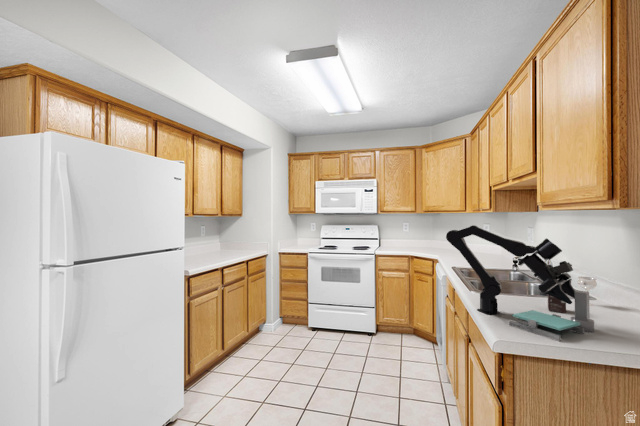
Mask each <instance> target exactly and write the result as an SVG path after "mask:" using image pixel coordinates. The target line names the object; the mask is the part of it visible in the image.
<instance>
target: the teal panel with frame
mask: <svg viewBox="0 0 640 426" xmlns="http://www.w3.org/2000/svg"><path fill="white" fill-rule="evenodd" d="M551 315H553V316H557V317H560V318H562V316H561V315H558V314H554V313H552V314H551ZM508 325H509V326H512V327H515V328H518V329H521V330H523V331H526V332H530V333H533V334H536V335H538V336H542V337H546V338H548V339H551V340H554V341H558V342H561V340H562V335H561V334H558V333H554V332H552V331H549V330H546V329H541V328H539V327H538V326H539V324H538V321H534V320H531V319H530V320H529V321H528V324H526V323H524V322H520V321H516V320H514V319H509V320H508ZM565 330H567V331H571V332H572V333H573V332H574V333H576V334H581V335H584V334H585V332H584V328H580V327H577V326H575V327H571V328H567V329H565Z"/></svg>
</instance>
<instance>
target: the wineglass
mask: <svg viewBox="0 0 640 426" xmlns="http://www.w3.org/2000/svg"><path fill="white" fill-rule="evenodd" d="M577 278H578V279H577V284H578V286H579V287H580V288H581V289H583V290H584V291H586V292H589V291H590V290H593V289H595V288H596V287H597V285H598V284H597V278H594V277H589V276H577ZM589 307H595V304H593V303H591V302H589Z"/></svg>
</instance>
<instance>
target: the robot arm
mask: <svg viewBox="0 0 640 426" xmlns="http://www.w3.org/2000/svg"><path fill="white" fill-rule="evenodd" d="M470 236H475V237H478V238H480V239H482V240H485V241H487V242H489V243H491V244H493V245H497V246H499V247H501V248H503V249H504V250H506V251H507V252H508V253H510V254H512V255H513V256H515V257H518V258H517V260H518V261H517V262H518V263H517V266H519V267H522V266H523V265H525V266H526V267H527V268H528V269H530V270H531V272H532V273H534V274H533V276H534V277H535V278H536V277H537V278H538V279H540V280H541V282H542V283H540V284H538V290H539V291H540V293H542V294H545V295H547V296H548V295H550V296H552V297H555V298H557V299H559V300H561V301H564V302H566V304H568V305H572V304H573V301H572V300H571V299H570V298H569V297H571V298H573V299H574V300H575V291H576V290H575V288H574V287H573V285H572V281H573V280H572V276H571V275H570V274H569V273H570V272H572V271H574V269H573V264H571V263H570V262H567V260H564V261H560V262H559V263H558V265H554V266H553V265H552V264H547V263H546V262H545V260H549V261H551V260H552V259H553V258H555V257H556V256H558V255H559V254H560V253H562V252H563V250H562V249H561V248H560V247H559V246H557V245H556V244H555V243H554V242H552V241H551V240H549V239H548V238H544V240H543V241H541V242H540V243H539V244H538V245H536V246H533V245H527V244H526V243H524V242H522V241H518V240H515V239H510V238H505V237H503V236H500V235H498V234H495V233H493V232H491V231H488V230H486V229H483V228H481V227H478V226H477V225H473V224H472V225H470V226H469V227H465V228H462V229H459V230H458V229H452V230H449V231H448V232H446V236H445V238H446V241H448V242H449V244H450V245H452V247H453V248H455V249H456V250H457V251H459V253H460V254H461V255H462V257H463V258H464V259H465V260H466V261H467V263H468V264H469V265H470V267H471V269H472V270H473V271H474V272H475V274H476V275H477V276H478V277H479V280H480V282H481V285H482V286H483V288H482V289H481V291H480V293H479V308H476V310H477V311H478V312H481V313H483V314H486V315H495V314H501V311H498V299H497V298H496V297H497V296H499V295H500V294H501V292H502V284H501V283H502V281H501V280H499V278H498V277H497V275H496V274H495V273H493V274H490V273H489V272H488V271H487V270H486V268H485V267H484V265H483V264H482V263H481V261H480V260H479V259H478V258H477V256H476V255H475V254H474V253H473V251H472V250H471V248H469V245H468V244H467V243H466V239H465V238H466V237H470ZM522 257H523V258H522Z"/></svg>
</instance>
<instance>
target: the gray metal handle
mask: <svg viewBox="0 0 640 426" xmlns="http://www.w3.org/2000/svg"><path fill="white" fill-rule="evenodd" d="M589 303H590V292H589V291H588V292H586V290H579V289H577V290H575V299H574V316H570V320H572V321H576V322H579V323H580V325H579V326H577V327H580V328H584V333H589V332H591V333H594V332H595V320H594V319H591V318H590V306H589Z"/></svg>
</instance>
